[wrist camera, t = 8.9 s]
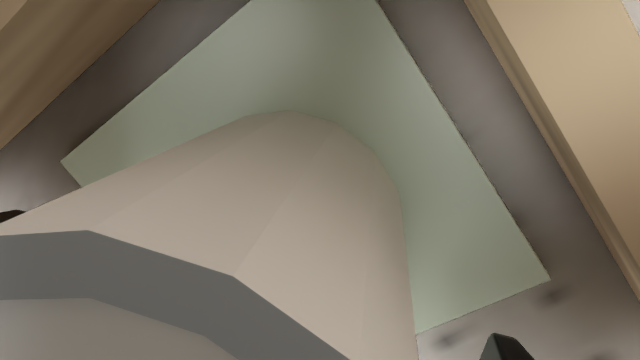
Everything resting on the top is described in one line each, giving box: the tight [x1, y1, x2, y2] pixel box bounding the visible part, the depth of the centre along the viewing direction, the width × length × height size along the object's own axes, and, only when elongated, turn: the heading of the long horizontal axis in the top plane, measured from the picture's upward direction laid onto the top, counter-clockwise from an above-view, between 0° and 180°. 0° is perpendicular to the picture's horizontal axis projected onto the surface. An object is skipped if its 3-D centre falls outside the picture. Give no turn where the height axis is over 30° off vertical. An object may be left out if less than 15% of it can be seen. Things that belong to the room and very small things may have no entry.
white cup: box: [0, 110, 419, 360], centre depth 8 cm, size 7×7×7 cm
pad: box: [60, 0, 551, 335], centre depth 12 cm, size 9×9×1 cm
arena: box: [0, 0, 640, 302], centre depth 11 cm, size 18×18×4 cm
